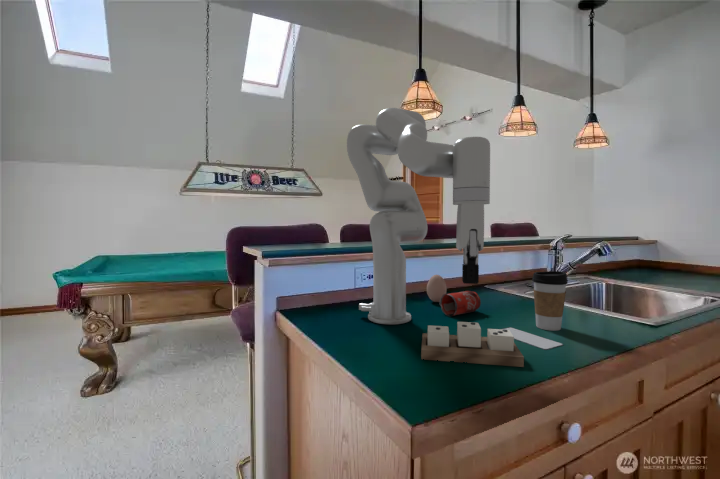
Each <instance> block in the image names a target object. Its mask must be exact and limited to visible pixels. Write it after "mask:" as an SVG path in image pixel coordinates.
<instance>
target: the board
mask: <svg viewBox="0 0 720 479" xmlns="http://www.w3.org/2000/svg"><path fill="white" fill-rule="evenodd" d="M421 339H422V340H421V350H420V351H421V352H420V357H421V360H423V359H424V360H426V361H437V360H438V361H439V362H450V361H454V362H453V363H463V362H465V363H466V362H467V363H466V364H480V365H492V366H504V367H505V366H506V367H516V368H517V367H518V368H519V367H521V368H524V367H525V365H524V364H525V363H524V362H525V356H524V355H523V353H522V352H521V351H520V349H519V348H518V346H517V345H516V343H515V342H514V349H513V351H501V350H489V349H488V346H487V336H481V348H480V347H465V346H458V341H457V334H449V347H441V346H428V332H425V333H424V332H422V336H421Z"/></svg>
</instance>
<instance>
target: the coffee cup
mask: <svg viewBox="0 0 720 479" xmlns="http://www.w3.org/2000/svg"><path fill="white" fill-rule="evenodd" d="M567 274H568V273H567V272H566V271H559V270H557V271H556V270H555V271H554V270H553V271H552V270H551V271H550V270H549V271H536V272H533V276H532V282H533V288H532V289H533V300H534V301H533V302H534V313H535V314H534V315H535V325H536V327H537V328H538V329H541V330H546V331H550V332H551V331H554V332H555V331H560V330H562V322H563V314H564V308H565V301H566V295H567V294H566V293H567V291H566V287H567V285H568V284H569V283H568V282H569V280H568V275H567Z"/></svg>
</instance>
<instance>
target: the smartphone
mask: <svg viewBox="0 0 720 479" xmlns="http://www.w3.org/2000/svg"><path fill="white" fill-rule="evenodd" d="M501 329H502V330H503V329H505V330H510V332H511V333H512V335H513V336H514V341H517V342H518V341H519V342H520V343H524V344H526V345H529V346H533V347H535V348H537V349H541V350H544V351H548V350H551V349H556V348H559V347H563V346H564V344H563V343H562V342H558V341H555V340H552V339H550V338H545V337H542V336H539V335H536V334H533V333H530V332H527V331H524V330H520V329H517V328H514V327H504V328H501Z"/></svg>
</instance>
